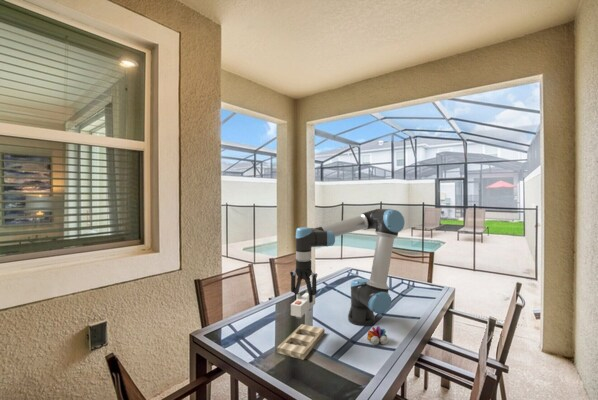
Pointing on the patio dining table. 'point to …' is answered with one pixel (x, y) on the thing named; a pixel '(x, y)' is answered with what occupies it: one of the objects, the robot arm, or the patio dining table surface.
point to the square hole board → (301, 341)
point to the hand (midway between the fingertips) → (303, 307)
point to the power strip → (301, 306)
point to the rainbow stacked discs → (377, 336)
